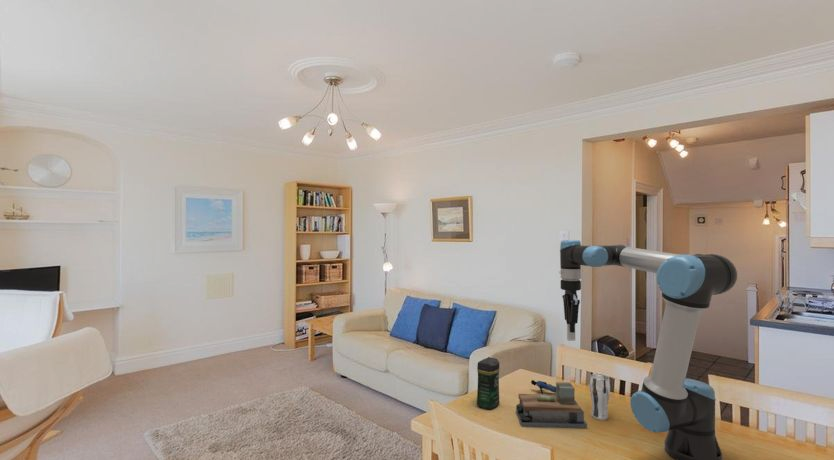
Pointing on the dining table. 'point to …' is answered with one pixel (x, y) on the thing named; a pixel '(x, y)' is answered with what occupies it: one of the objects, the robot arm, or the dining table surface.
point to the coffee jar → (488, 383)
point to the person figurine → (544, 386)
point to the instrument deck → (546, 405)
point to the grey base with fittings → (550, 418)
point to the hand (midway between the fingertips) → (571, 340)
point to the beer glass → (599, 396)
